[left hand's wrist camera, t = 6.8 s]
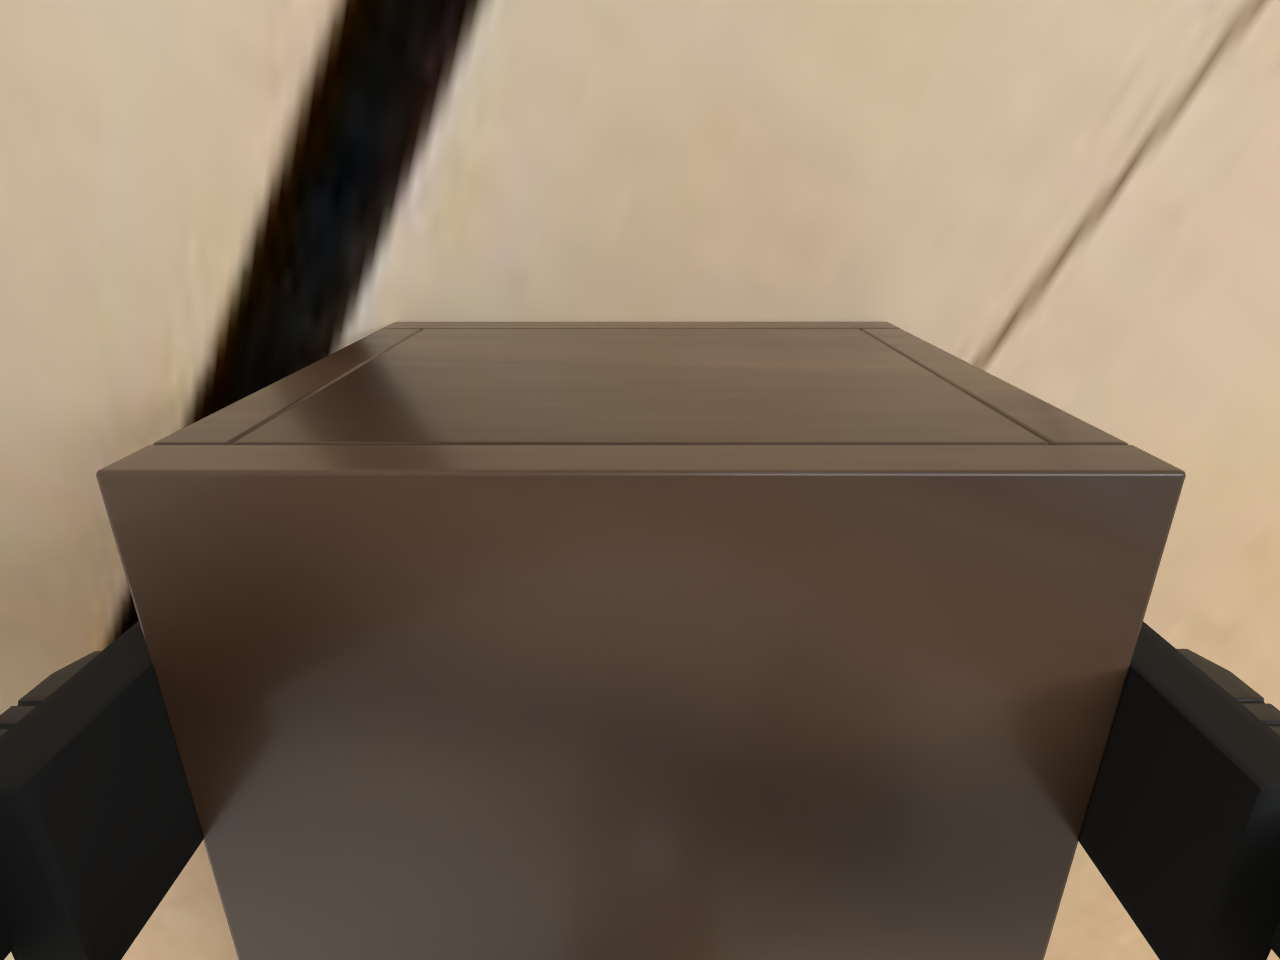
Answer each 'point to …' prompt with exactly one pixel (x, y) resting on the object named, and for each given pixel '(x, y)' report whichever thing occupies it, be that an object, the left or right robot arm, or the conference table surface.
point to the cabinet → (641, 643)
